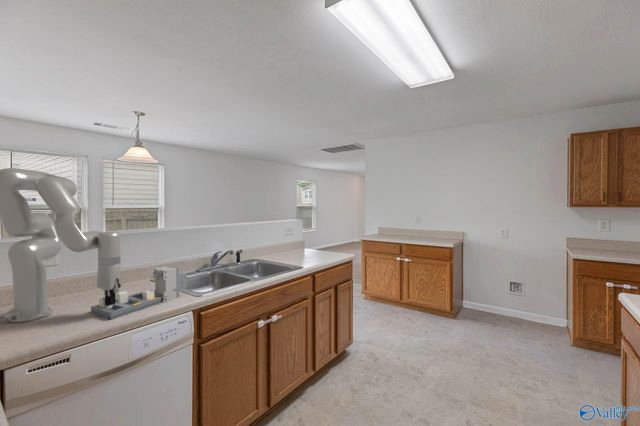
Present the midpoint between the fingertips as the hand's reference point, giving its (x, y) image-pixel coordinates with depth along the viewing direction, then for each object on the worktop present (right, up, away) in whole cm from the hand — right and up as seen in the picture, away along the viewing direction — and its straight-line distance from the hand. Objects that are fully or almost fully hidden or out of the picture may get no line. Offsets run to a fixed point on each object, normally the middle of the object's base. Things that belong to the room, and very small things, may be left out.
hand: (110, 304), depth 118 cm
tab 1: (-3, -2, +2) cm, 4 cm away
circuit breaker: (+15, -3, +21) cm, 26 cm away
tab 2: (-1, -2, +8) cm, 9 cm away
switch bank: (+3, -4, +7) cm, 8 cm away
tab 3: (+9, -2, +11) cm, 15 cm away
